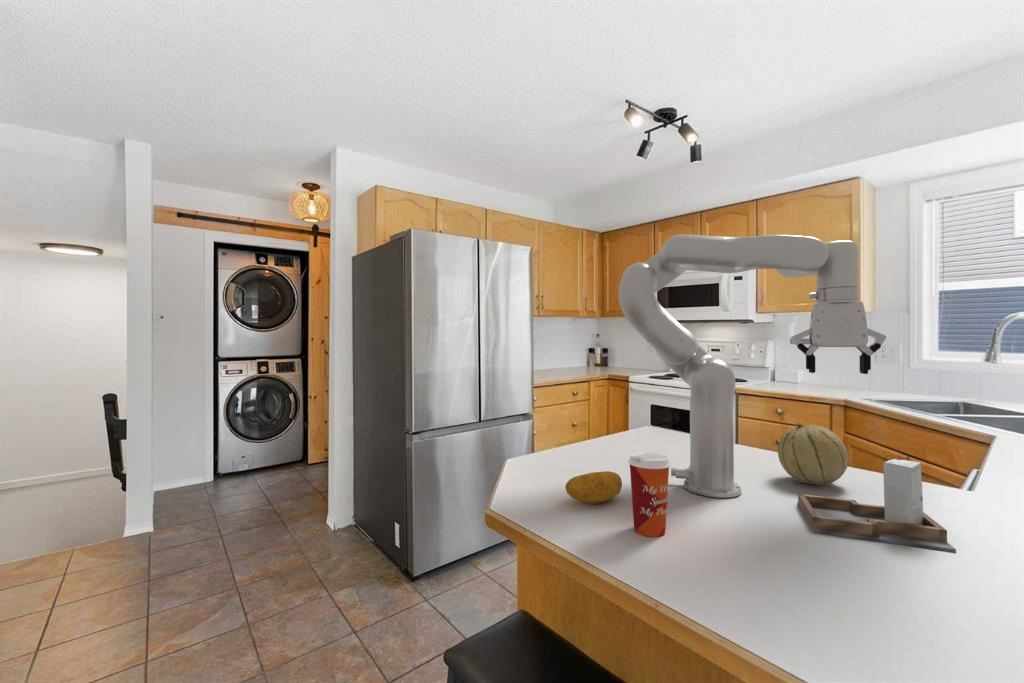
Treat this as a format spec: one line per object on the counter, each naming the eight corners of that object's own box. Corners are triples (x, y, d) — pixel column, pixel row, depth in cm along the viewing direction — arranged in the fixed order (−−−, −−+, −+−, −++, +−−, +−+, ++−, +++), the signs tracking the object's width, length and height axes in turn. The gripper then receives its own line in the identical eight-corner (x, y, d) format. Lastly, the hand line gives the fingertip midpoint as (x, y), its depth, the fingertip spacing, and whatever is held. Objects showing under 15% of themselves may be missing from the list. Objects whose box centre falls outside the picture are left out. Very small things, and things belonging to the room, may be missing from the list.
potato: (631, 504, 97) (631, 473, 97) (575, 512, 92) (575, 479, 92) (611, 492, 104) (611, 464, 104) (559, 500, 100) (558, 470, 100)
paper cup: (649, 543, 78) (648, 463, 78) (619, 527, 85) (619, 454, 85) (681, 534, 82) (680, 458, 82) (650, 519, 88) (649, 449, 88)
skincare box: (914, 535, 79) (913, 467, 80) (882, 526, 83) (882, 462, 83) (924, 527, 83) (924, 462, 83) (894, 519, 87) (893, 457, 87)
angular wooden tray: (813, 532, 82) (813, 518, 82) (797, 503, 97) (797, 492, 97) (956, 552, 74) (955, 537, 74) (914, 517, 89) (914, 505, 89)
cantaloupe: (865, 491, 105) (864, 427, 105) (810, 494, 102) (809, 429, 102) (813, 473, 119) (812, 417, 119) (764, 476, 117) (763, 419, 117)
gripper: (794, 297, 100) (795, 373, 100) (891, 293, 93) (892, 375, 93) (789, 300, 107) (789, 371, 107) (878, 296, 100) (879, 373, 100)
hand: (837, 373), depth 100 cm, fingers open, 9 cm apart
